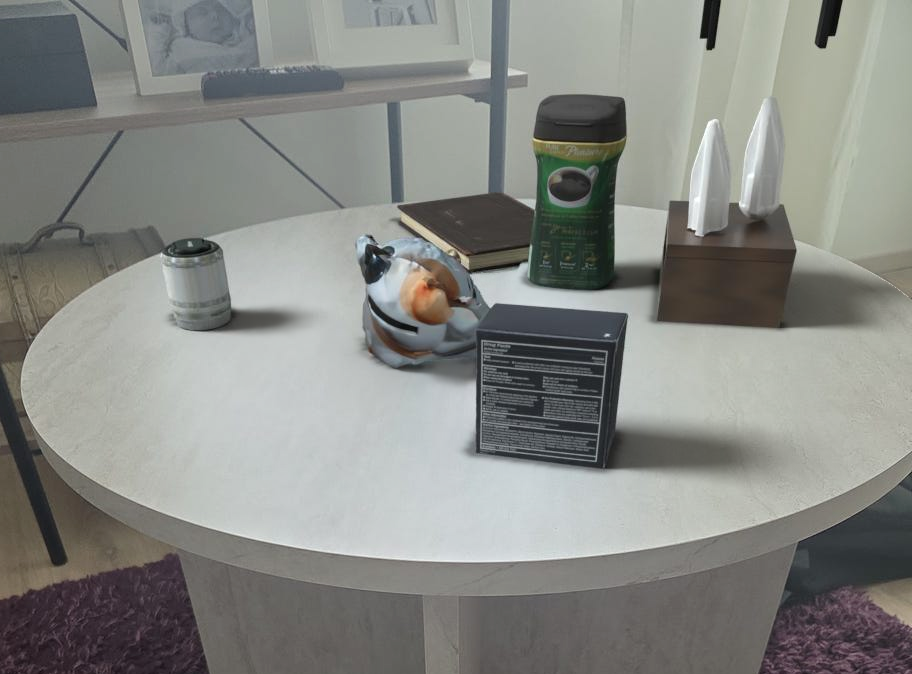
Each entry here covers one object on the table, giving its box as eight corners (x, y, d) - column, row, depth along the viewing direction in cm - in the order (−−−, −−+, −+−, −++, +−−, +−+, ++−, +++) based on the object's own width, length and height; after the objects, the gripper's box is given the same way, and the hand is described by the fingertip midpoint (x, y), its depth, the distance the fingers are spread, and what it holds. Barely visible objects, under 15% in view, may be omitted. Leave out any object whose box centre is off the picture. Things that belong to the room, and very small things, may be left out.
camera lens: (228, 306, 100) (215, 231, 95) (238, 326, 95) (226, 248, 90) (170, 315, 98) (154, 238, 93) (178, 335, 94) (162, 256, 89)
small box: (616, 437, 75) (632, 309, 68) (605, 475, 70) (620, 341, 63) (491, 422, 77) (494, 297, 71) (472, 458, 72) (473, 328, 66)
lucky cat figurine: (528, 344, 90) (531, 234, 77) (447, 425, 87) (437, 325, 74) (416, 271, 94) (401, 156, 81) (336, 346, 92) (308, 239, 79)
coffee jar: (617, 274, 106) (637, 89, 94) (605, 297, 100) (625, 103, 88) (535, 267, 108) (545, 86, 96) (519, 289, 102) (527, 100, 90)
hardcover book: (466, 274, 107) (466, 253, 105) (397, 223, 123) (397, 205, 122) (586, 255, 111) (588, 235, 110) (504, 208, 128) (505, 191, 126)
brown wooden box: (767, 280, 103) (783, 204, 98) (778, 333, 91) (797, 249, 86) (659, 274, 105) (669, 200, 100) (655, 326, 93) (667, 244, 88)
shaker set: (761, 209, 97) (784, 88, 89) (790, 218, 94) (817, 95, 87) (672, 227, 92) (689, 102, 85) (700, 237, 89) (721, 109, 82)
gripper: (913, -211, 74) (859, 40, 84) (693, -197, 77) (668, 44, 88) (932, -220, 68) (871, 51, 79) (694, -204, 71) (666, 54, 82)
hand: (764, 47), depth 83 cm, fingers open, 9 cm apart
